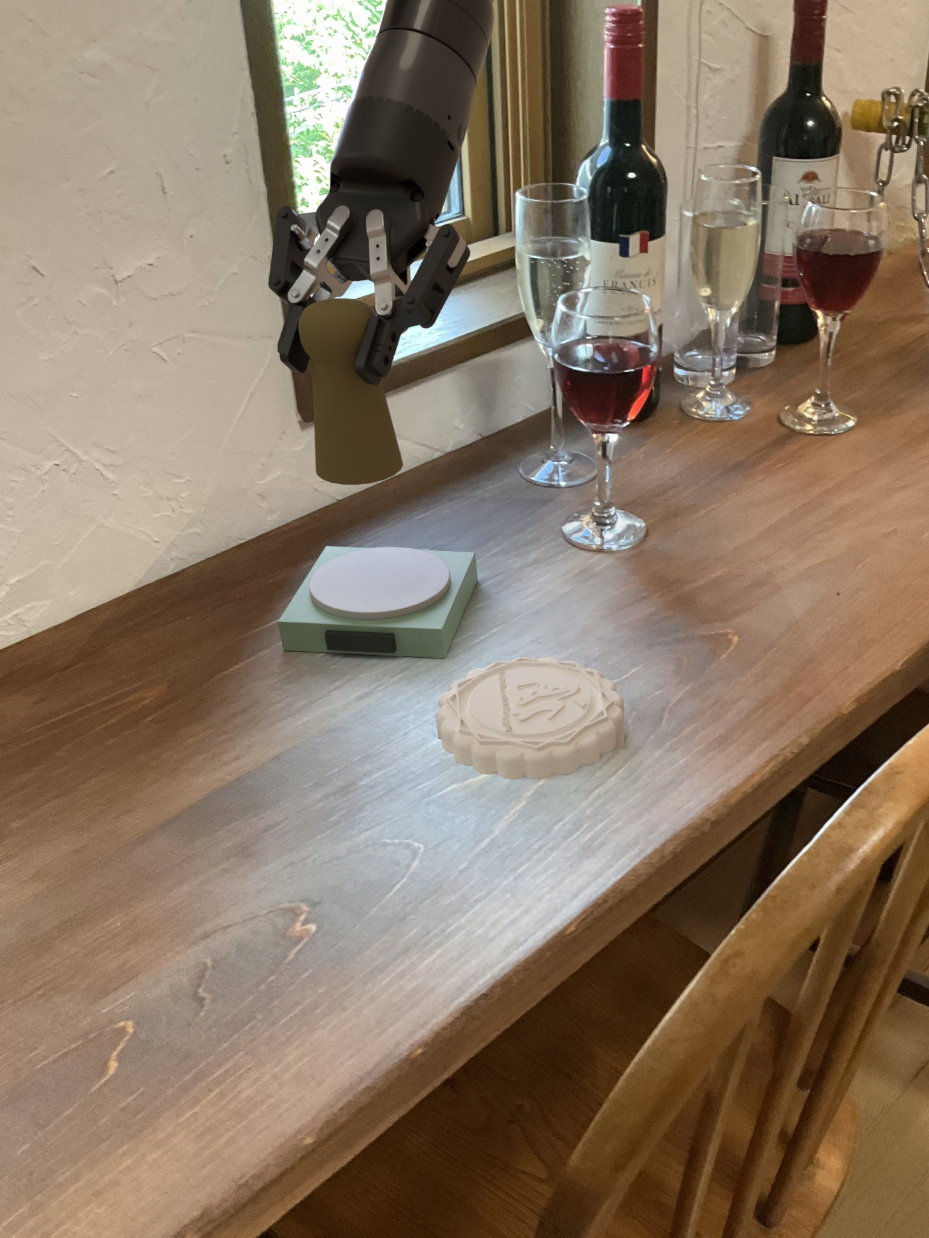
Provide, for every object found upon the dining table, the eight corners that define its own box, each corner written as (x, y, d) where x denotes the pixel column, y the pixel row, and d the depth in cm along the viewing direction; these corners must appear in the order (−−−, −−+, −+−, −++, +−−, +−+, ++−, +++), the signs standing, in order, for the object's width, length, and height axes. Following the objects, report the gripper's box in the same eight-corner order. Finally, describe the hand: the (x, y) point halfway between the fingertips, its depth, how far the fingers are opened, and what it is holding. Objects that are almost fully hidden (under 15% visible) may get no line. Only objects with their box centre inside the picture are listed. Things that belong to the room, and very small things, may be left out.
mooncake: (637, 790, 79) (637, 743, 76) (443, 809, 77) (437, 761, 75) (611, 687, 88) (610, 642, 86) (437, 702, 87) (431, 656, 84)
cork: (306, 458, 90) (278, 296, 83) (390, 443, 91) (369, 284, 84) (326, 491, 85) (298, 323, 78) (413, 475, 87) (393, 309, 80)
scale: (280, 654, 92) (273, 617, 90) (330, 573, 102) (324, 538, 100) (443, 662, 91) (439, 625, 89) (477, 579, 101) (474, 544, 99)
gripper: (283, 85, 82) (204, 330, 81) (477, 99, 78) (396, 359, 77) (341, 158, 89) (269, 385, 88) (522, 175, 85) (449, 415, 84)
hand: (328, 372), depth 82 cm, fingers closed on cork, 5 cm apart
